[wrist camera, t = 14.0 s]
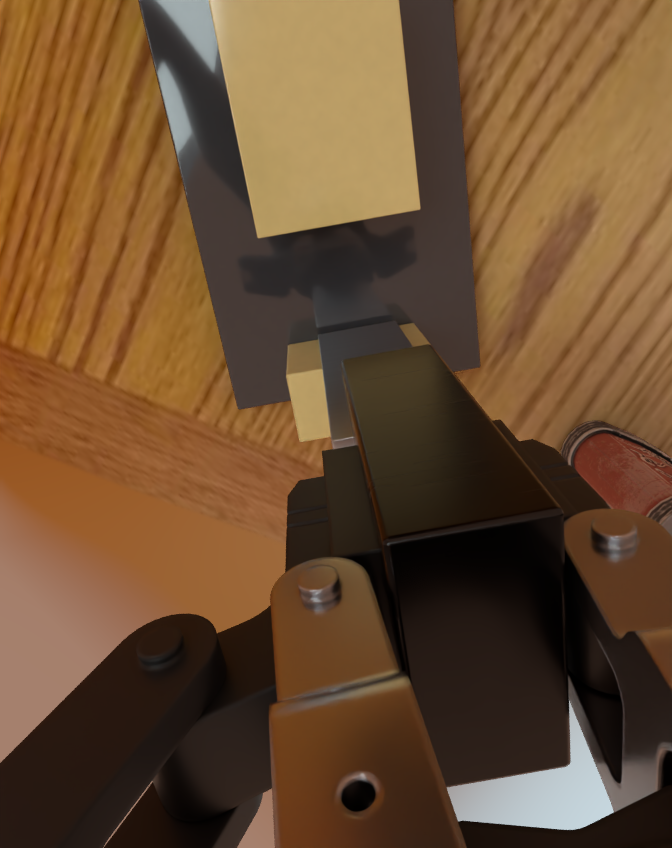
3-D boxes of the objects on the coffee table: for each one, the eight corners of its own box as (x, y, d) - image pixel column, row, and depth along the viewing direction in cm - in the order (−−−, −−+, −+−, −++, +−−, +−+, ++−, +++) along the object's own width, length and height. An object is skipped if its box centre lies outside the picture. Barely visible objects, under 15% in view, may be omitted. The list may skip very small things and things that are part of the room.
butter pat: (299, 403, 24) (299, 443, 21) (287, 344, 23) (285, 375, 20) (420, 382, 24) (442, 418, 21) (413, 322, 23) (435, 348, 20)
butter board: (240, 400, 25) (227, 451, 21) (130, -59, 19) (74, -138, 15) (473, 359, 25) (514, 401, 21) (435, -114, 19) (481, -212, 14)
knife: (327, 387, 24) (386, 801, 8) (308, 286, 22) (335, 550, 6) (402, 373, 24) (610, 762, 8) (388, 271, 22) (613, 500, 6)
